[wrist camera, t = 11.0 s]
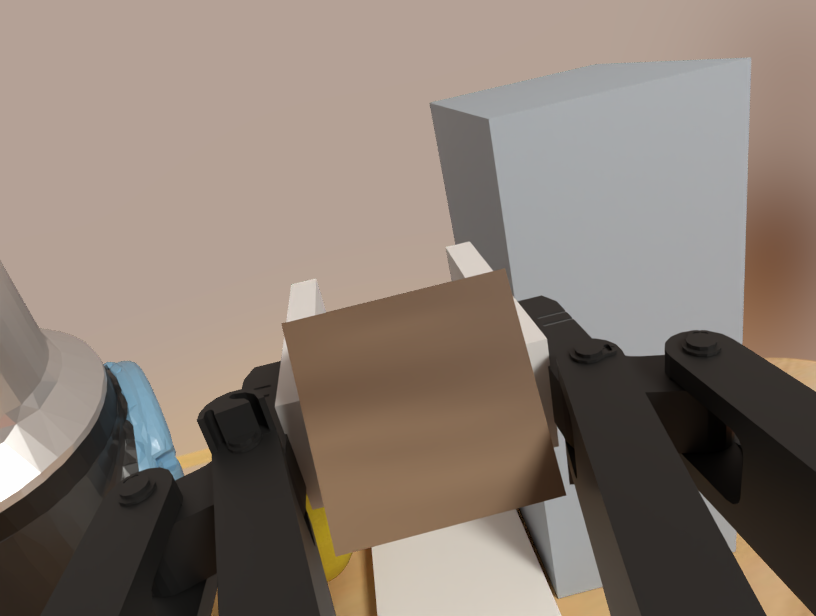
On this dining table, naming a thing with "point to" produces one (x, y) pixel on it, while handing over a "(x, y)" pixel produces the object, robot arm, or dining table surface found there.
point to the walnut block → (422, 411)
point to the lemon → (326, 543)
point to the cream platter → (463, 572)
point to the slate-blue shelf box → (607, 220)
